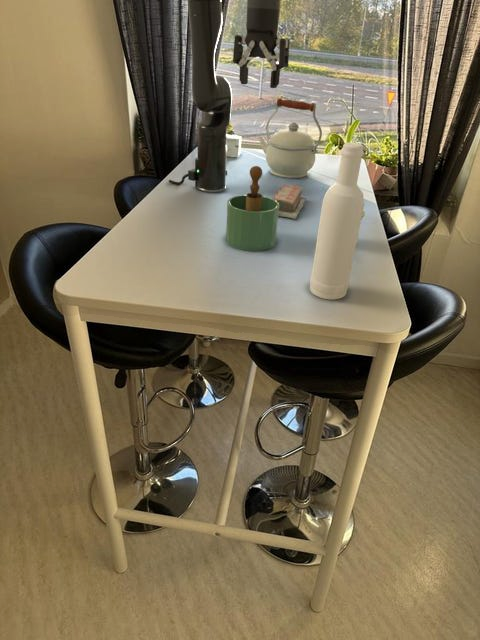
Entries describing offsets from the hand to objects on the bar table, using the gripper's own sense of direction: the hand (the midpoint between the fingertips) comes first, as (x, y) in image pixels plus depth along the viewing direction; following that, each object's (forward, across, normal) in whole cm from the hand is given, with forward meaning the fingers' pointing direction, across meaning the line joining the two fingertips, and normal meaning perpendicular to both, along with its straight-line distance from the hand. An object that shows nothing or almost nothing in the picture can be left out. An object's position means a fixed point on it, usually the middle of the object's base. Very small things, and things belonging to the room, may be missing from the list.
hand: (258, 86), depth 113 cm
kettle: (+34, +15, -49) cm, 62 cm away
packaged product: (+34, -4, -14) cm, 37 cm away
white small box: (+34, +44, -56) cm, 78 cm away
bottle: (+34, -36, +26) cm, 56 cm away
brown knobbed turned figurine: (+33, -9, +14) cm, 37 cm away
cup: (+34, -9, +14) cm, 38 cm away
